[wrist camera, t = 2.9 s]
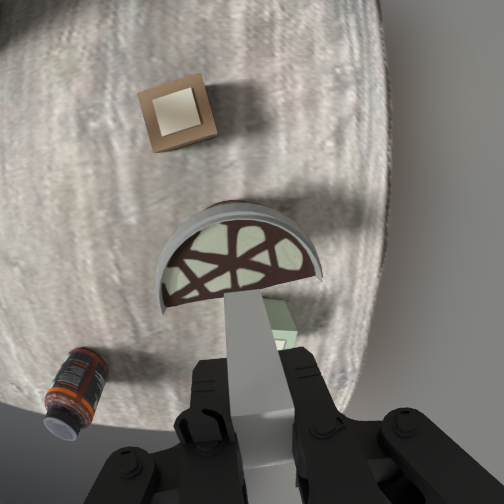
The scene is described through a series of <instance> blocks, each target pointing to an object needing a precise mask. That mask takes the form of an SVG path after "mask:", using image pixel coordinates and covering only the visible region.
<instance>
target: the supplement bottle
mask: <svg viewBox="0 0 504 504" xmlns="http://www.w3.org/2000/svg"><path fill="white" fill-rule="evenodd" d="M107 376H108V370H107V367H106V365H105V363H104V362H103V360H102V359H101V358H100V357H98V356H97V355H96V354H94V353H93V352H91V351H88V350H85V349H74V350H72V351H71V352H69V354H68V355H67V357H66V358H65V360H64V362H63V364H62V365H61V367H60V369H59V371H58V373H57V375H56V377H55V379H54V380H53V382H52V384H51V386H50V388H49V390H48V392H47V394H46V396H45V407H46V409H47V411H48V412H47V413H46V416H45V419H44V424H45V426H46V427H47V429H48V430H49V431H51V432H52V433H53V434H54V435H56V436H57V437H60V438H62V439H64V440H69V441H73V440H76V439H77V437H78V434H79V432H80V430H81V429H85V428H87V427H89V426H90V424H91V422H92V420H93V416H94V414H95V411H96V408H97V405H98V402H99V399H100V396H101V394H102V391H103V388H104V385H105V382H106V379H107Z"/></svg>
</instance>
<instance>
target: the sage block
mask: <svg viewBox="0 0 504 504" xmlns="http://www.w3.org/2000/svg"><path fill="white" fill-rule="evenodd" d="M263 302H264V305H265V309H266V312H267V316H268V319H269V322H270V326H271V329H272V333H273V336H274V340H275V343H276V346H277V350H284V349H290V348H293V346H294V343H295V339H296V336H297V333H298V330H297V328H296V326H295V323H294V321H293V319H292V317H291V314H290V312H289V310H288V307H287V305H286V303H285V300H275V299H266V298H263Z"/></svg>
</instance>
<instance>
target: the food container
mask: <svg viewBox="0 0 504 504" xmlns="http://www.w3.org/2000/svg"><path fill="white" fill-rule="evenodd" d="M312 276H316V277H317V278H318V279H319V280H320V281H321V282H323V281H322V277H323V273H322V268H321V264H320V261H319V257H318V255H317V252H316V249H315V247H314V245H313V243H312V242H311V240H310V238H309V237H308V235H307V234H306V233H305V232H304V230H303V229H302V228H301V227H300V226H299V225H298V224H297V223H295V222H294V221H293V220H292V219H291V218H289V217H288V216H286V215H284V214H282V213H281V212H279V211H277V210H274V209H271V208H269V207H266V206H262V205H257V204H252V203H247V202H244V201H234V200H229V201H222V202H219V203H216V204H214V205H212V206H210V207H208V208H206V209H205V210H204V211H202V212H200V213H198V214H196V215H194V216H193V217H191V218H190V219H188V220H187V221H186V222H184V223H183V224H182V225H181V226H180V227H179V228H178V229H177V230H176V231H175V232H174V233H173V234H172V235H171V237H170V238H169V240H168V241H167V243H166V244H165V246H164V248H163V250H162V252H161V255H160V257H159V261H158V265H157V268H156V280H155V283H156V298H157V304H158V307H159V311H160V312H161V315H162V316H163V314H164V312H165V310H166V308H167V307H172V306H178V305H181V304H185V303H190V302H195V301H201V300H207V299H214V298H222V297H224V293H231V292H239V291H248V290H256V289H263V288H266V287H270V286H274V285H277V284H282V283H286V282H290V281H295V280H299V279H303V278H308V277H312Z"/></svg>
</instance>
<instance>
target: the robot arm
mask: <svg viewBox="0 0 504 504" xmlns="http://www.w3.org/2000/svg"><path fill="white" fill-rule="evenodd" d="M224 309H225V330H226V349H227V358H220V359H209V360H200V361H199V362H198V364H197V365H196V367H195V368H194V370H193V374H192V387H191V400H190V408H189V409H187V410H185V411H183V412H182V413H181V414H180V415H179V416H178V417H177V418H176V421H175V423H174V426H173V427H174V429H175V431H176V433H177V436H178V438H179V440H180V443H179V444H177V445H176V446H174V447H172V448H169V449H166V450H163V451H159V452H155V453H151V454H149V453H148V452H147V451H145V450H143V449H141V448H139V447H130V446H129V447H124V448H120V449H118V450H117V451H115V452H113V453H112V454H111V455H110V456H109V458H108V459H107V460H106V462H105V464H104V466H103V468H102V470H101V472H100V473H99V475H98V477H97V479H96V481H95V483H94V485H93V486H92V488H91V490H90V492H89V494H88V496H87V498H86V499H85V501H84V504H248V497H247V488H246V483H245V479H244V471H243V469H249V468H257V467H265V466H272V465H279V464H285V463H291V462H293V457H294V461H295V465H296V487H299V491H300V495H301V499H302V503H303V504H504V486H503V485H502V484H501V483H500V482H499V481H498V480H497V479H496V478H495V477H493V476H492V475H491V474H490V473H489V472H488V471H487V470H486V469H484V468H483V467H482V466H481V465H480V464H479V463H478V462H477V461H475V460H474V459H473V458H472V457H471V456H470V455H469V454H468V453H467V452H465V451H464V450H463V449H462V448H461V447H460V446H459V445H458V444H456V443H455V442H454V441H453V440H452V439H451V438H450V437H449V436H447V435H446V434H445V433H444V432H443V431H442V430H441V429H440V428H438V427H437V426H436V425H435V424H434V423H433V422H432V421H431V420H430V419H429V418H427V417H426V416H425V415H424V414H423V413H421V412H419V411H418V410H416V409H412V408H398V409H396V410H392V411H390V412H389V413H388V414H387V415H386V416H385V417H384V419H383V421H357V420H353V419H350V418H347V417H346V416H345V415H343V414H342V413H340V412H339V411H338V410H337V408H336V406H335V404H334V402H333V400H332V397H331V395H330V393H329V390H328V388H327V386H326V384H325V381H324V379H323V377H322V376H321V372H320V370H319V368H318V367H317V363H316V361H315V358H314V356H313V354H312V353H310V352H309V351H308V350H307V349H305V348H304V347H297V348H290V349H284V350H277V346H276V343H275V340H274V336H273V333H272V329H271V326H270V322H269V319H268V316H267V312H266V309H265V305H264V302H263V298H262V295H261V291H260V289H256V290H248V291H239V292H231V293H224Z"/></svg>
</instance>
